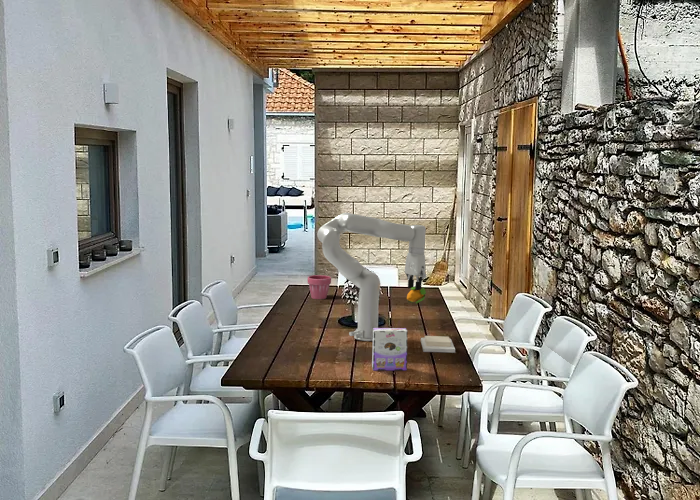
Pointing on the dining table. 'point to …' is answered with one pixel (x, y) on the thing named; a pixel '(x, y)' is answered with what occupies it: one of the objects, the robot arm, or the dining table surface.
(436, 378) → the dining table surface
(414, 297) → the corn
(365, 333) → the robot arm
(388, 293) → the dining table surface
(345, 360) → the dining table surface
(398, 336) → the candy box
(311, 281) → the plant pot
